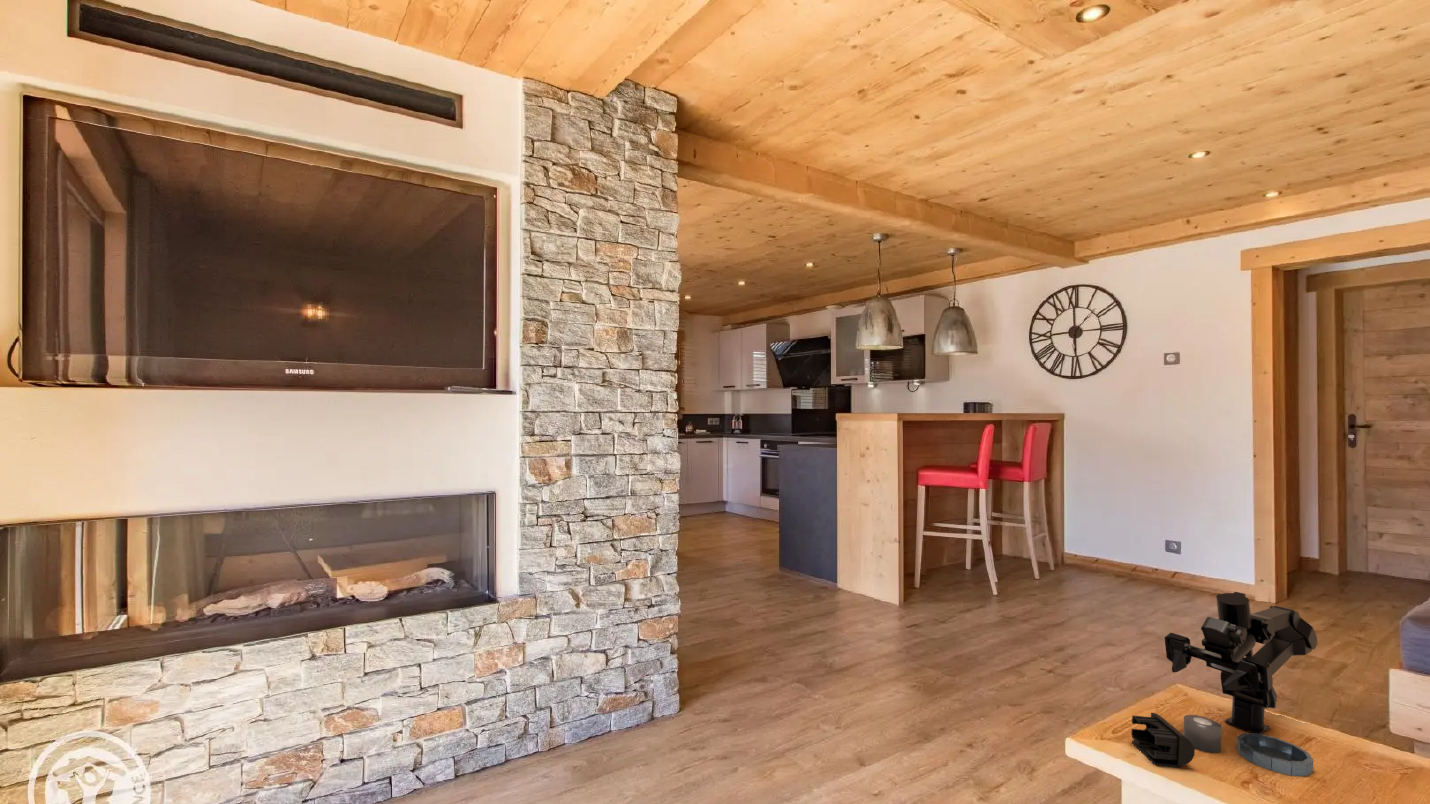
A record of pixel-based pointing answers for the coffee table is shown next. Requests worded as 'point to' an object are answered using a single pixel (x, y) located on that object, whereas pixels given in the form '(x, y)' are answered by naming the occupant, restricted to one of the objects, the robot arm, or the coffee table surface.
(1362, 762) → the coffee table surface
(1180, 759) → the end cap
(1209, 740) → the dark brown cylinder
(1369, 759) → the coffee table surface
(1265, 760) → the blue-grey round tray
